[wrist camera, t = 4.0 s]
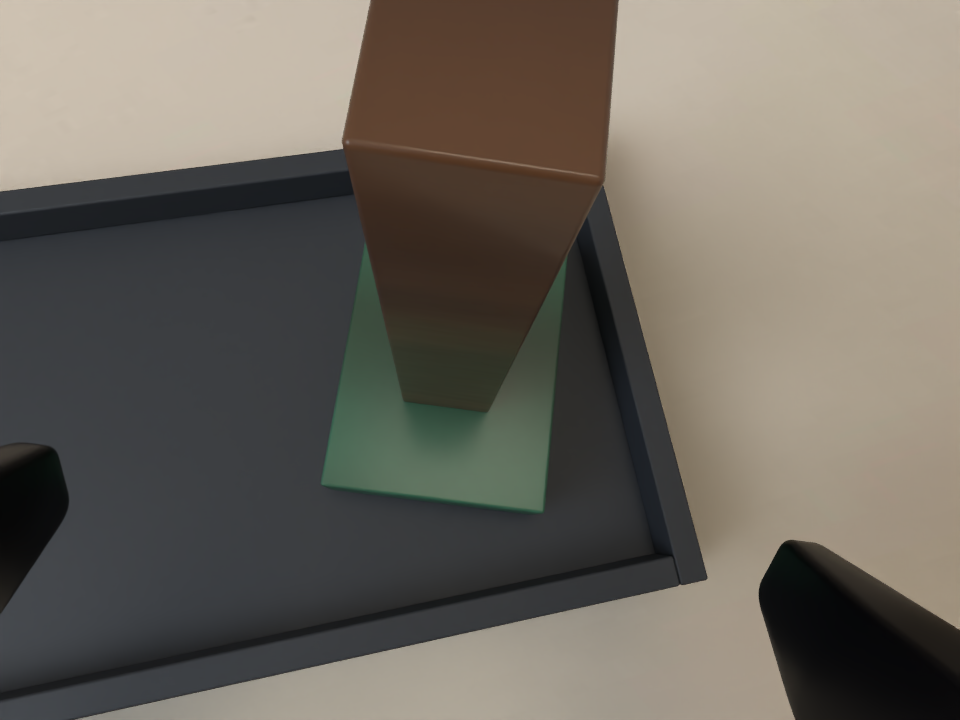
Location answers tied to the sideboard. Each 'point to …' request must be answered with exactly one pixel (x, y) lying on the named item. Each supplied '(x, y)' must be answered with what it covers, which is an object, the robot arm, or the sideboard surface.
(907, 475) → the sideboard surface
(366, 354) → the brown post on base
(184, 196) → the tray
